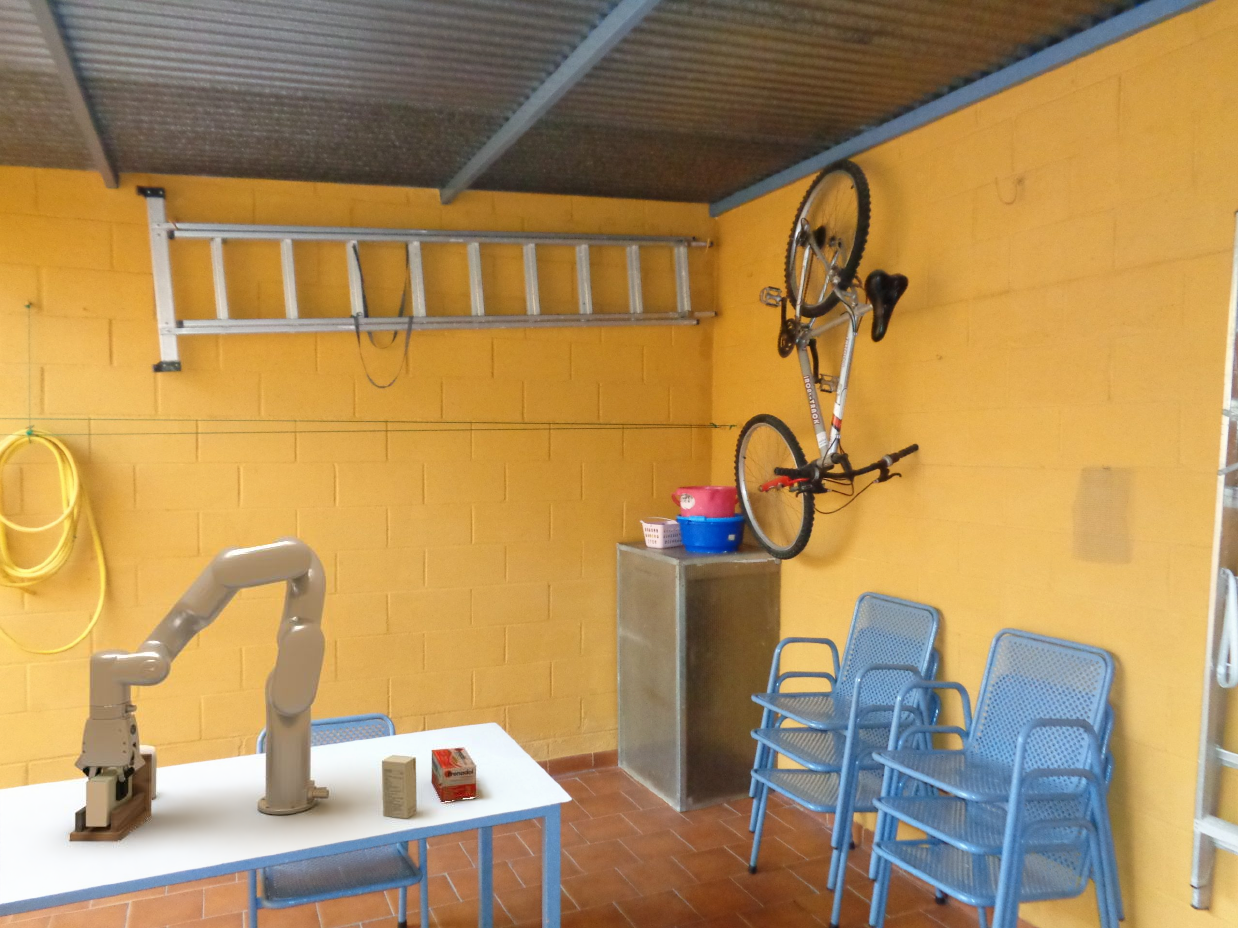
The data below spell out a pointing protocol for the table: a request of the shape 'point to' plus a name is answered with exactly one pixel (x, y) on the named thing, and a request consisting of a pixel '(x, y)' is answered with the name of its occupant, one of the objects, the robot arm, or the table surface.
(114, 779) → the beige rectangular block
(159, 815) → the table surface
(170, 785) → the table surface
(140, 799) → the shelf
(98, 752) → the robot arm
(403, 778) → the skincare box
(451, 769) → the medicine box
